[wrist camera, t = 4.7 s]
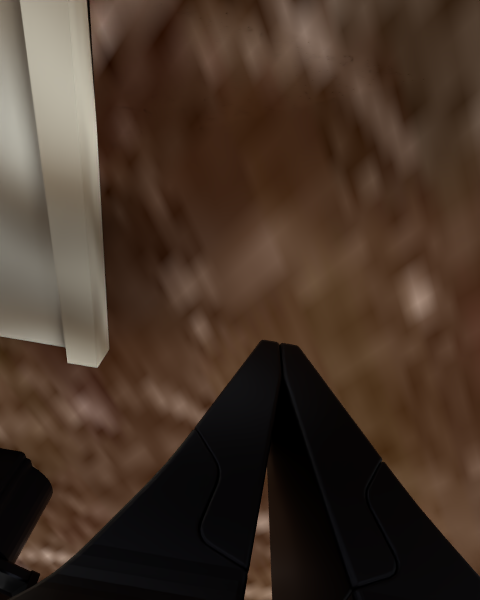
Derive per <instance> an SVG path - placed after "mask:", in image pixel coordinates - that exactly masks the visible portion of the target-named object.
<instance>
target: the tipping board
mask: <svg viewBox="0 0 480 600" xmlns="http://www.w3.org/2000/svg"><path fill="white" fill-rule="evenodd" d="M0 336H2V337H8V338H14V339H20V340H26V341H32V342H38V343H44V344H50V345H56V346H62V347H66V353H67V361H68V363H72V364H78V365H84V366H90V367H96V368H97V367H98V366H99V364H100V363H101V361H102V360H103V358H104V356H105V355H106V353H107V352H108V350H109V337H108V320H107V302H106V285H105V267H104V249H103V232H102V214H101V197H100V179H99V161H98V144H97V126H96V109H95V91H94V73H93V56H92V38H91V21H90V3H89V0H0Z"/></svg>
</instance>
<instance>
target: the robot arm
mask: <svg viewBox="0 0 480 600" xmlns="http://www.w3.org/2000/svg"><path fill="white" fill-rule="evenodd" d="M266 468H267V475H268V501H269V526H270V552H271V578H272V600H480V577H479V575H478V574H477V573H476V572H475V571H474V570H473V569H472V567H471V566H470V565H469V564H468V563H467V562H466V561H465V559H464V558H463V557H462V556H461V555H460V554H459V553H458V552H457V550H456V549H455V548H454V547H453V546H452V545H451V544H450V542H449V541H448V540H447V539H446V538H445V537H444V536H443V534H442V533H441V532H440V531H439V530H438V529H437V527H436V526H435V525H434V524H433V523H432V521H431V520H430V519H429V518H428V517H427V516H426V514H425V513H424V512H423V511H422V510H421V508H420V507H419V506H418V505H417V504H416V502H415V501H414V500H413V498H412V497H411V496H410V495H409V493H408V492H407V491H406V490H405V488H404V487H403V486H402V484H401V483H400V482H399V481H398V479H397V478H396V477H395V475H394V474H393V473H392V471H391V470H390V469H389V467H388V466H387V464H386V463H385V462H382V458H381V457H380V455H379V454H378V453H377V451H376V450H375V449H374V447H373V446H372V445H371V443H370V442H369V441H368V439H367V438H366V436H365V435H364V434H363V432H362V431H361V430H360V428H359V427H358V426H357V424H356V423H355V422H354V420H353V419H352V418H351V416H350V415H349V414H348V412H347V411H346V410H345V408H344V407H343V406H342V404H341V403H340V401H339V400H338V399H337V397H336V396H335V395H334V393H333V392H332V391H331V389H330V388H329V387H328V385H327V384H326V383H325V381H324V380H323V379H322V377H321V376H320V375H319V373H318V372H317V371H316V369H315V368H314V366H313V365H312V364H311V362H310V361H309V360H308V358H307V357H306V356H305V354H304V353H303V352H302V350H301V349H300V348H299V347H298V346H297V345H292V344H286V343H281V344H280V345H279V343H278V342H274V341H268V340H261V341H260V342H259V344H258V345H257V346H256V348H255V349H254V350H253V352H252V353H251V354H250V356H249V357H248V358H247V359H246V361H245V362H244V363H243V365H242V366H241V367H240V369H239V370H238V371H237V373H236V374H235V375H234V377H233V378H232V379H231V381H230V382H229V383H228V384H227V386H226V387H225V388H224V390H223V391H222V392H221V394H220V395H219V396H218V398H217V399H216V400H215V402H214V403H213V404H212V406H211V407H210V408H209V409H208V411H207V412H206V413H205V415H204V416H203V417H202V419H201V420H200V421H199V423H198V424H197V425H196V427H195V429H194V430H192V431H191V433H190V434H189V435H188V437H187V438H186V439H185V441H184V442H183V443H182V445H181V446H180V447H179V448H178V449H177V451H176V452H175V453H174V454H173V455H172V457H171V458H170V459H169V460H168V462H167V463H166V464H165V465H164V466H163V467H162V468H161V469H160V470H159V471H158V472H157V473H156V475H155V476H154V477H153V478H152V479H151V480H150V481H149V482H148V483H147V484H146V485H145V486H144V487H143V488H142V489H141V490H140V491H139V492H138V493H137V494H136V495H135V496H134V497H133V498H132V499H131V500H130V501H129V502H128V503H127V504H126V505H125V506H124V507H123V508H122V509H121V510H120V511H119V512H118V513H117V514H116V515H115V516H114V517H113V518H112V519H111V520H110V521H109V522H108V523H107V524H106V525H105V526H104V527H103V528H102V529H101V530H100V531H99V532H98V533H97V534H96V535H95V536H94V537H93V538H92V539H91V540H90V541H89V542H88V543H87V544H86V545H85V546H84V547H83V548H82V549H81V550H80V551H79V552H78V553H76V554H75V555H74V556H73V557H72V558H71V559H70V560H68V561H67V562H66V563H65V564H64V565H63V566H61V567H60V568H59V569H57V570H56V571H55V572H54V573H52V574H51V575H49V576H48V577H46V578H45V579H43V580H42V581H40V582H39V583H37V581H38V579H39V576H40V573H37V572H35V571H33V570H32V571H29V570H27V569H24V568H22V567H20V566H18V565H16V564H14V563H15V562H16V560H17V558H18V556H19V554H20V553H21V551H22V549H23V547H24V545H25V544H26V542H27V540H28V538H29V536H30V534H31V533H32V531H33V529H34V527H35V525H36V524H37V522H38V520H39V518H40V516H41V514H42V513H43V511H44V509H45V507H46V505H47V504H48V502H49V500H50V498H51V496H52V493H53V490H52V486H51V483H50V482H49V480H48V479H47V478H46V477H45V476H44V475H43V474H42V473H41V472H40V471H39V470H37V469H36V468H34V467H33V466H32V463H31V461H30V460H29V459H28V458H26V456H25V454H24V453H23V452H20V451H14V450H8V449H2V448H0V600H244V596H245V589H246V583H247V577H248V576H247V574H248V571H249V566H250V560H251V555H252V549H253V543H254V537H255V532H256V526H257V520H258V514H259V509H260V503H261V497H262V491H263V486H264V480H265V474H266Z"/></svg>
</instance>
